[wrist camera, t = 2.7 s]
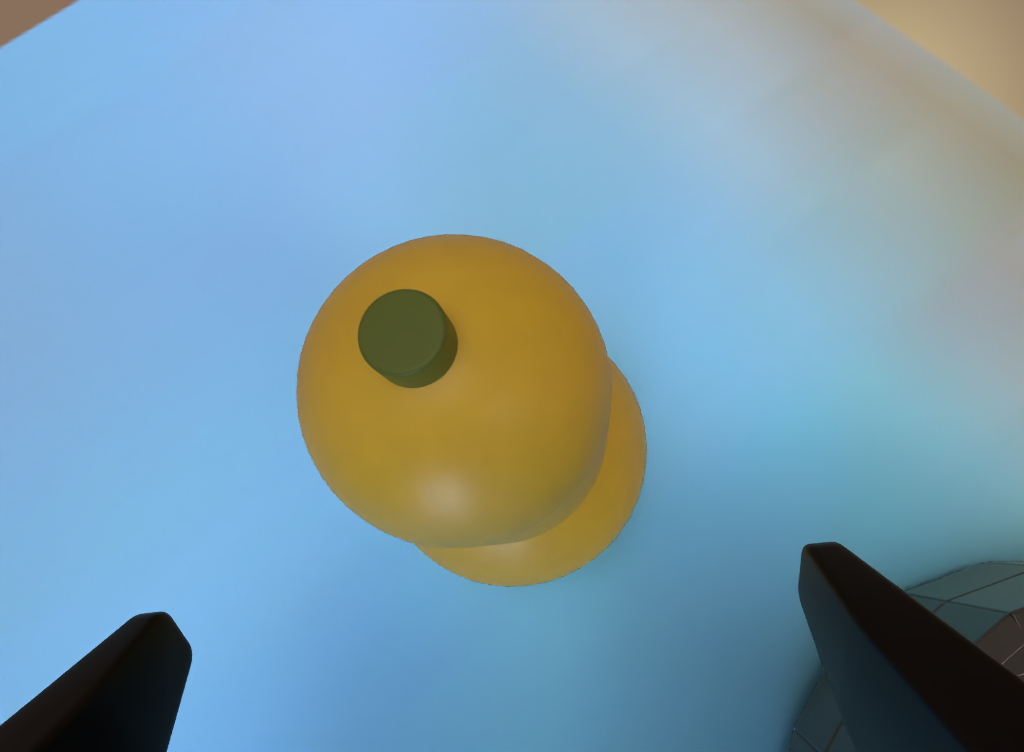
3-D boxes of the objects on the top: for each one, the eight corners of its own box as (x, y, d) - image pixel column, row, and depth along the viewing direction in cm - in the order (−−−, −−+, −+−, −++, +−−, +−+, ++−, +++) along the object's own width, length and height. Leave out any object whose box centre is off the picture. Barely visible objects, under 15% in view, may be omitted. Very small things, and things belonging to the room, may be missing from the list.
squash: (607, 604, 18) (636, 774, 5) (399, 539, 19) (18, 549, 6) (657, 391, 19) (777, 114, 7) (461, 344, 20) (245, 37, 8)
